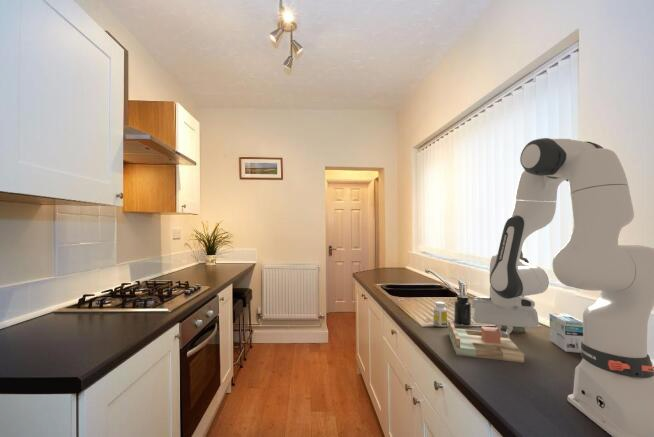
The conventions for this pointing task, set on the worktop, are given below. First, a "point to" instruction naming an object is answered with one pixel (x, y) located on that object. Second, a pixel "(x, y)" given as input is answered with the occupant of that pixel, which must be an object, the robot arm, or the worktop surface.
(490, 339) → the block
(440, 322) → the supplement bottle
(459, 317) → the supplement bottle
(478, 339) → the board
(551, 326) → the light bulb box
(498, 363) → the worktop surface
